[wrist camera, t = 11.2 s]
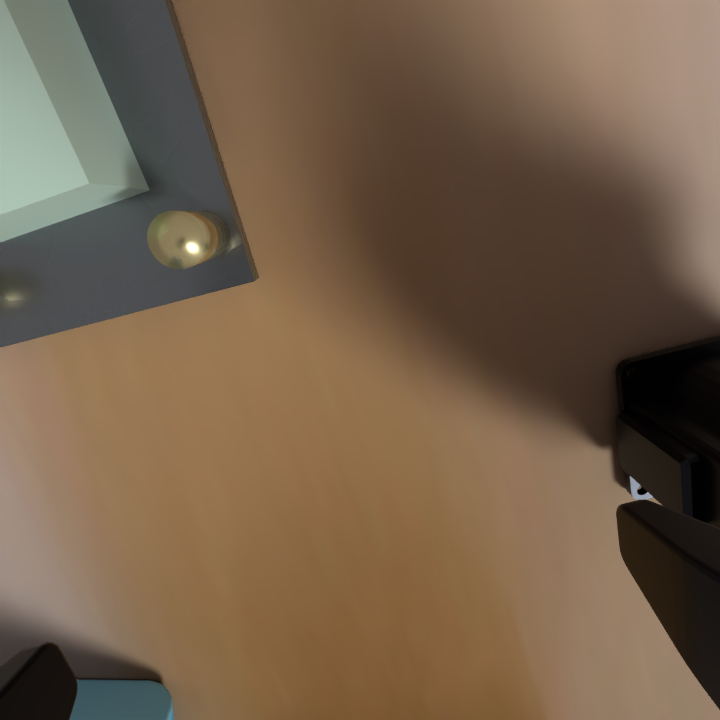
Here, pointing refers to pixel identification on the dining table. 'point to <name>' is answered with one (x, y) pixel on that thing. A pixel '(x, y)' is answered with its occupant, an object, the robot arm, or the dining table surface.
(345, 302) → the dining table surface
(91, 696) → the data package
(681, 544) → the robot arm
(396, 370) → the dining table surface
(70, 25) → the pale green block
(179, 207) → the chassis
